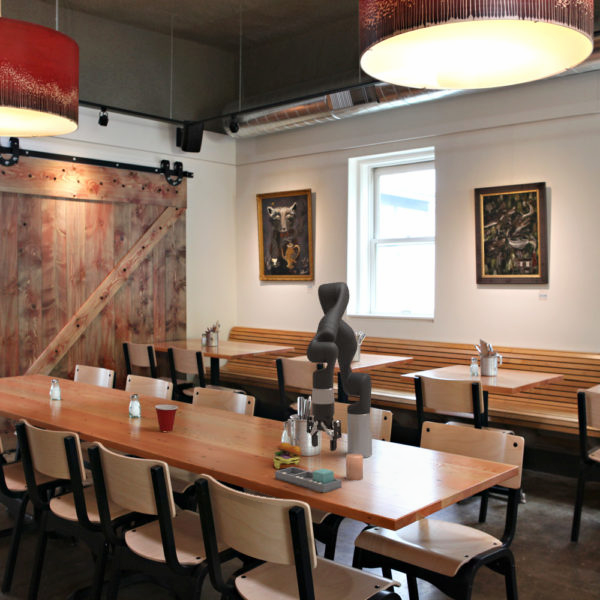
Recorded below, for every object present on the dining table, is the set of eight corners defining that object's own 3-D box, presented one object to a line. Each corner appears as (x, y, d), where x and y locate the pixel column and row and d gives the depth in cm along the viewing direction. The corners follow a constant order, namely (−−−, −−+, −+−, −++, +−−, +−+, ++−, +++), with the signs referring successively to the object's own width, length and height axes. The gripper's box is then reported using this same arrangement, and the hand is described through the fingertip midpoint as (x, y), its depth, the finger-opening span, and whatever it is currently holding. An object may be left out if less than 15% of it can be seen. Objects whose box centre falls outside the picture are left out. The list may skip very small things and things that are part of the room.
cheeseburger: (265, 466, 261) (270, 439, 263) (285, 467, 268) (289, 442, 270) (284, 471, 254) (288, 443, 256) (304, 472, 261) (308, 445, 263)
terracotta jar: (353, 474, 249) (353, 452, 249) (366, 478, 245) (366, 455, 245) (342, 478, 245) (342, 455, 245) (355, 481, 241) (355, 458, 241)
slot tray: (292, 473, 251) (292, 466, 251) (341, 487, 234) (341, 479, 234) (274, 478, 245) (274, 470, 245) (323, 493, 228) (323, 485, 228)
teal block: (323, 482, 237) (323, 468, 237) (333, 485, 234) (333, 471, 234) (313, 485, 234) (312, 471, 234) (323, 489, 230) (323, 474, 230)
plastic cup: (175, 433, 320) (175, 407, 320) (152, 433, 320) (152, 408, 320) (180, 428, 331) (180, 403, 331) (158, 428, 331) (157, 403, 331)
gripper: (346, 402, 230) (347, 450, 231) (316, 397, 241) (316, 443, 241) (330, 405, 225) (331, 454, 226) (300, 400, 235) (301, 447, 236)
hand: (323, 448), depth 234 cm, fingers open, 8 cm apart
